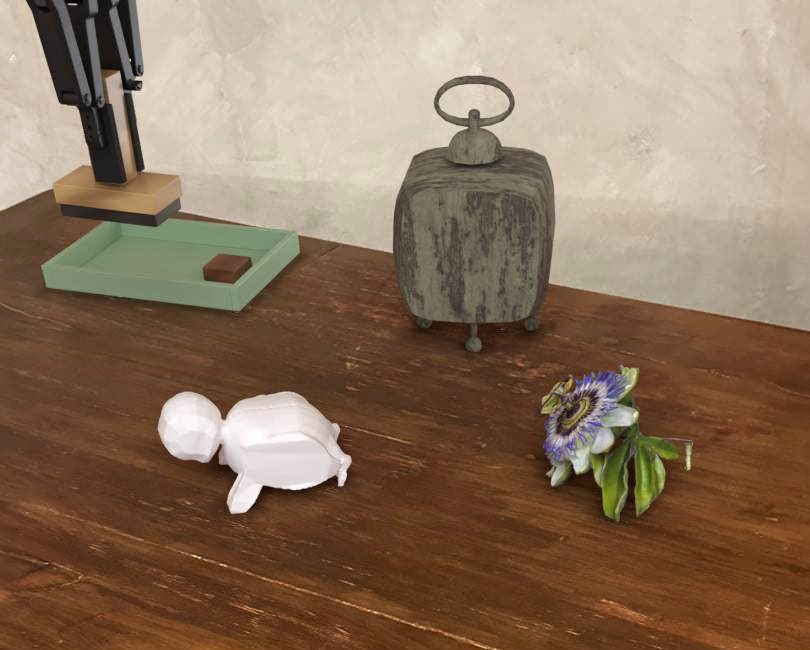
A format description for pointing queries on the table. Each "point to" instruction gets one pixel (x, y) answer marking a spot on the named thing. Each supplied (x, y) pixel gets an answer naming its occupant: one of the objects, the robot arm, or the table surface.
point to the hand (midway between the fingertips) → (120, 174)
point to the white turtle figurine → (256, 442)
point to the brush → (123, 203)
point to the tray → (171, 261)
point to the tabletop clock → (475, 227)
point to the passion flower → (605, 439)
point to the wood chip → (226, 268)
